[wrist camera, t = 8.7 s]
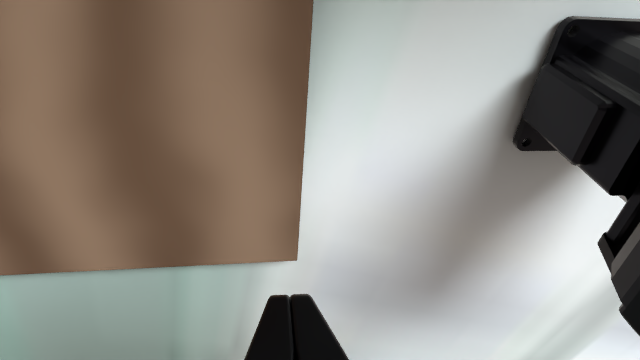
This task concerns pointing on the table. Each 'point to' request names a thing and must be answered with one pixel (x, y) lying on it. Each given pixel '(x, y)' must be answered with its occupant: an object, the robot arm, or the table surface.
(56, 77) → the board
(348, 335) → the table surface
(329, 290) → the table surface
